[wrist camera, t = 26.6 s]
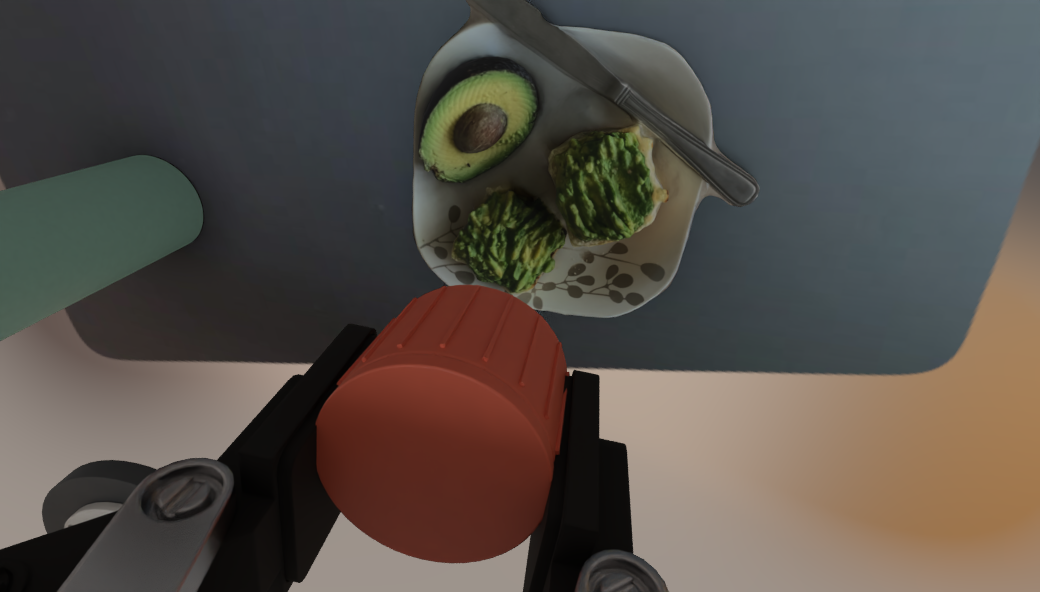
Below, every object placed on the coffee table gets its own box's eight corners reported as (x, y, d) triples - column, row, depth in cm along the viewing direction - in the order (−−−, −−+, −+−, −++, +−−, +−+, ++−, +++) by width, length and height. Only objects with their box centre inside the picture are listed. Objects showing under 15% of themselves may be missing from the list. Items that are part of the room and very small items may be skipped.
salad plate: (802, 29, 27) (839, 28, 23) (701, 331, 35) (714, 371, 31) (427, -26, 28) (398, -36, 24) (414, 279, 36) (390, 311, 32)
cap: (401, 256, 11) (320, 327, 8) (595, 315, 10) (589, 411, 7) (373, 413, 12) (298, 522, 9) (541, 466, 12) (518, 594, 9)
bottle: (208, 255, 37) (-114, 439, 20) (122, 237, 38) (-267, 404, 21) (198, 164, 34) (-189, 291, 17) (104, 146, 35) (-366, 253, 18)
